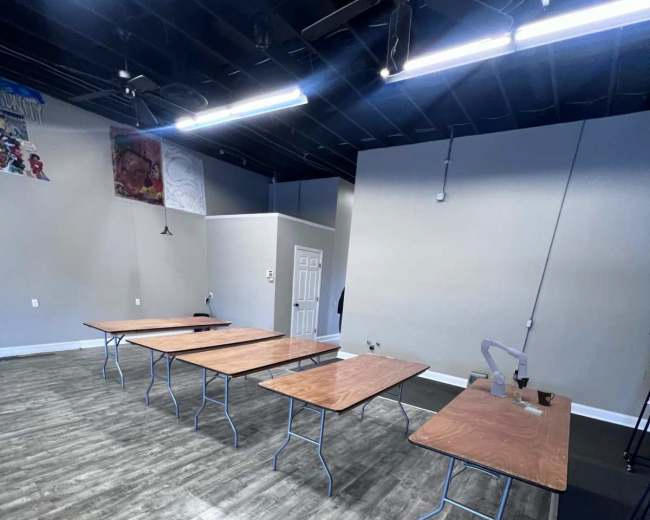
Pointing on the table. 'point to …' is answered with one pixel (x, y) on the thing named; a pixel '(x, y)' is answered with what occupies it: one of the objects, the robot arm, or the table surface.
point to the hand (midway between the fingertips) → (522, 388)
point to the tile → (533, 411)
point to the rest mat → (524, 405)
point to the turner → (520, 399)
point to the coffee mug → (544, 397)
